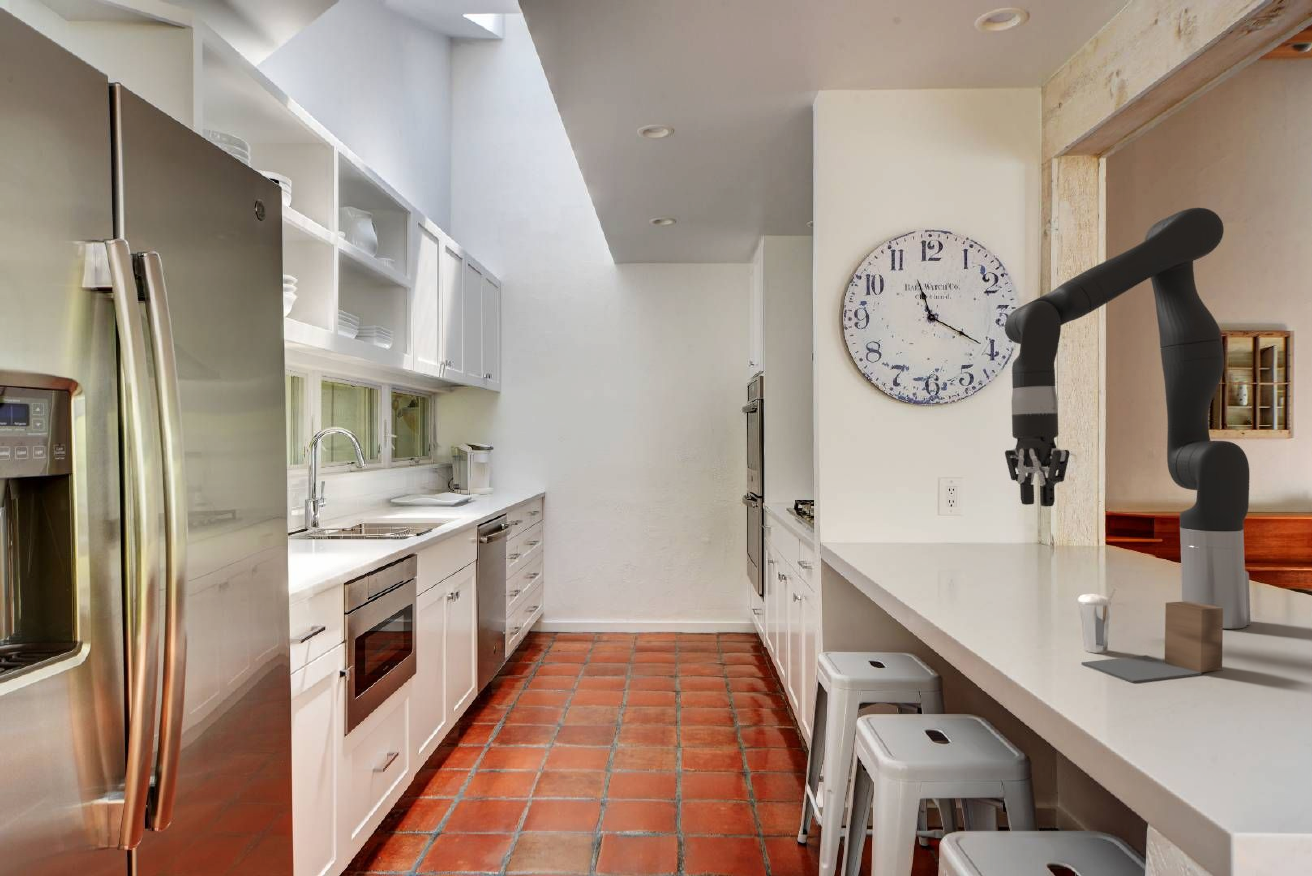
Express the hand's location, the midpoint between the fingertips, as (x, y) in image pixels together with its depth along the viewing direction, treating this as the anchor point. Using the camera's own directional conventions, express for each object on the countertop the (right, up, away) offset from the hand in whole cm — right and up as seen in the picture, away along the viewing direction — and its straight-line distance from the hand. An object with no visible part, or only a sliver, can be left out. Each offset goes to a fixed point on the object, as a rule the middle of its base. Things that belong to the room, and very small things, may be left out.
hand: (1037, 504), depth 133 cm
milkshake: (+1, -22, -16) cm, 28 cm away
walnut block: (+9, -22, -26) cm, 35 cm away
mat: (+1, -22, -26) cm, 34 cm away
